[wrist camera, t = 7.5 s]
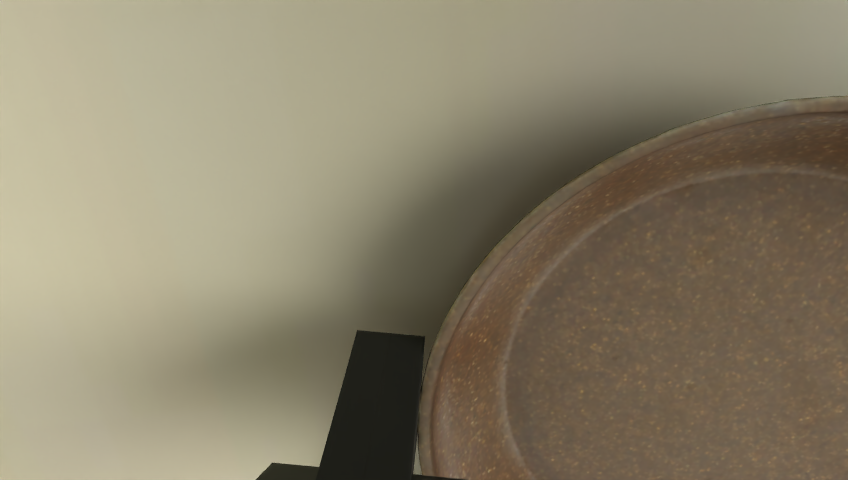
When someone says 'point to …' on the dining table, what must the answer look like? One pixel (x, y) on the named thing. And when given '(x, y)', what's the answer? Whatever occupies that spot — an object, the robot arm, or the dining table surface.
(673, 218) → the saucer
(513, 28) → the dining table surface
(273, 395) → the dining table surface
